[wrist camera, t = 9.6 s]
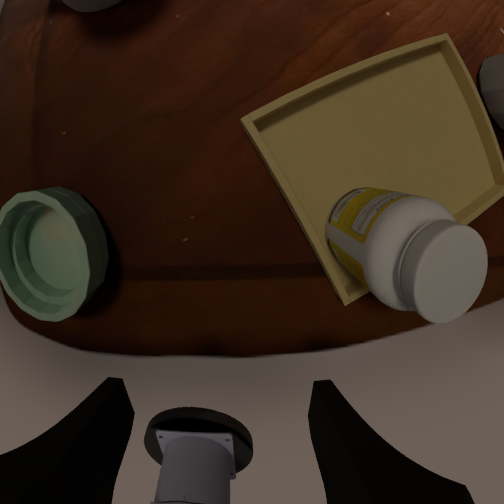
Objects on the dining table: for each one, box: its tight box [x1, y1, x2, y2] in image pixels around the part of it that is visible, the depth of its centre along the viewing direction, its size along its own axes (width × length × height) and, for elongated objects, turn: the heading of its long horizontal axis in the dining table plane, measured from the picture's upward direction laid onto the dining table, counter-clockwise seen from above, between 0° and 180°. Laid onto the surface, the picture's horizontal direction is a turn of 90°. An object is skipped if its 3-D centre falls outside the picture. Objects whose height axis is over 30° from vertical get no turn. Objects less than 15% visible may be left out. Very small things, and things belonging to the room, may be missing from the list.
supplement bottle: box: [325, 187, 487, 324], centre depth 14 cm, size 5×5×10 cm
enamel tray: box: [241, 33, 504, 306], centre depth 17 cm, size 17×13×2 cm
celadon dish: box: [0, 186, 109, 322], centre depth 17 cm, size 9×9×4 cm
